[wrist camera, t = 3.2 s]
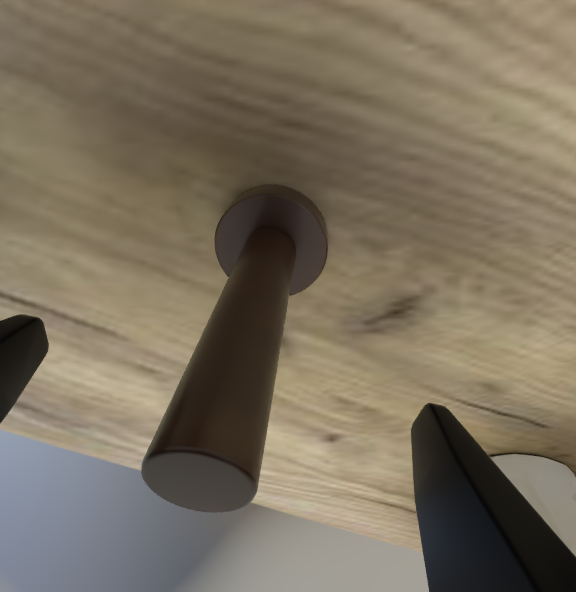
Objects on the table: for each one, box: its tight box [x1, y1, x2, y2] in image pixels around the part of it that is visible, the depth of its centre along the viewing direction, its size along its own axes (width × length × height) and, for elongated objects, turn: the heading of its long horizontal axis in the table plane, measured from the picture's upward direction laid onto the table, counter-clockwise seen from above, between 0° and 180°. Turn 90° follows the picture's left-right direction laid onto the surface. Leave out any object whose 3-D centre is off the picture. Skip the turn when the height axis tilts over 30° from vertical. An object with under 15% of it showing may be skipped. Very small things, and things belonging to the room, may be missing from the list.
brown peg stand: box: [141, 185, 328, 513], centre depth 10 cm, size 4×4×10 cm
